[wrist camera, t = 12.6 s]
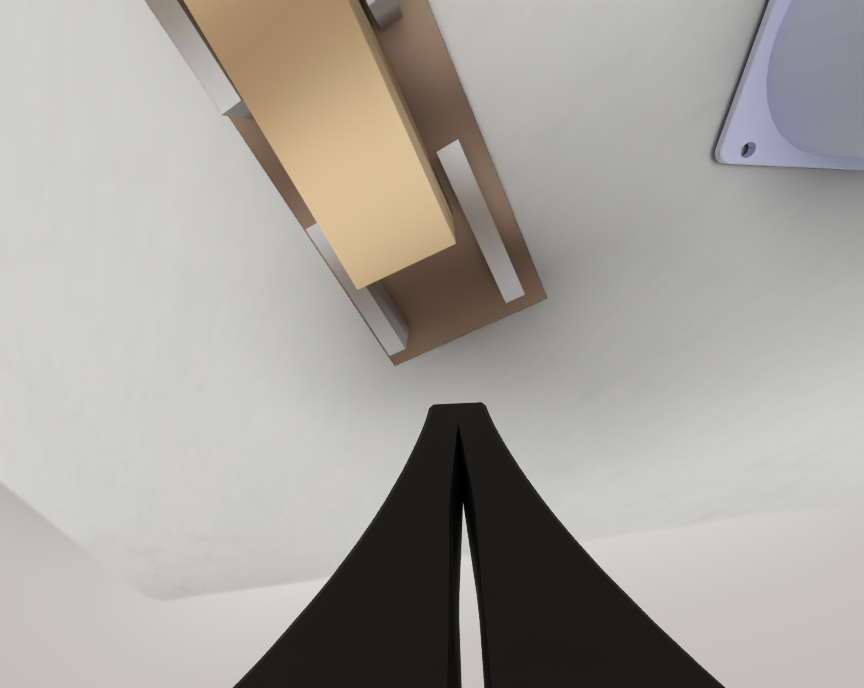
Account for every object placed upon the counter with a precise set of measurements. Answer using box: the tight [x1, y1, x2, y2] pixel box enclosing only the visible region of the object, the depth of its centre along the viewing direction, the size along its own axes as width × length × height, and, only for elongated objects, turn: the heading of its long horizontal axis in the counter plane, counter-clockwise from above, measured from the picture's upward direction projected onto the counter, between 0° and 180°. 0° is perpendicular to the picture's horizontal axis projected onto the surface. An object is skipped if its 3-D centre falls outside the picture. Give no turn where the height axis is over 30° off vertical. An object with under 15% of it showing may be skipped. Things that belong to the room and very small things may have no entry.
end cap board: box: [145, 0, 547, 366], centre depth 13 cm, size 18×8×4 cm, turn 28°
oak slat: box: [184, 0, 456, 290], centre depth 10 cm, size 11×3×6 cm, turn 26°
